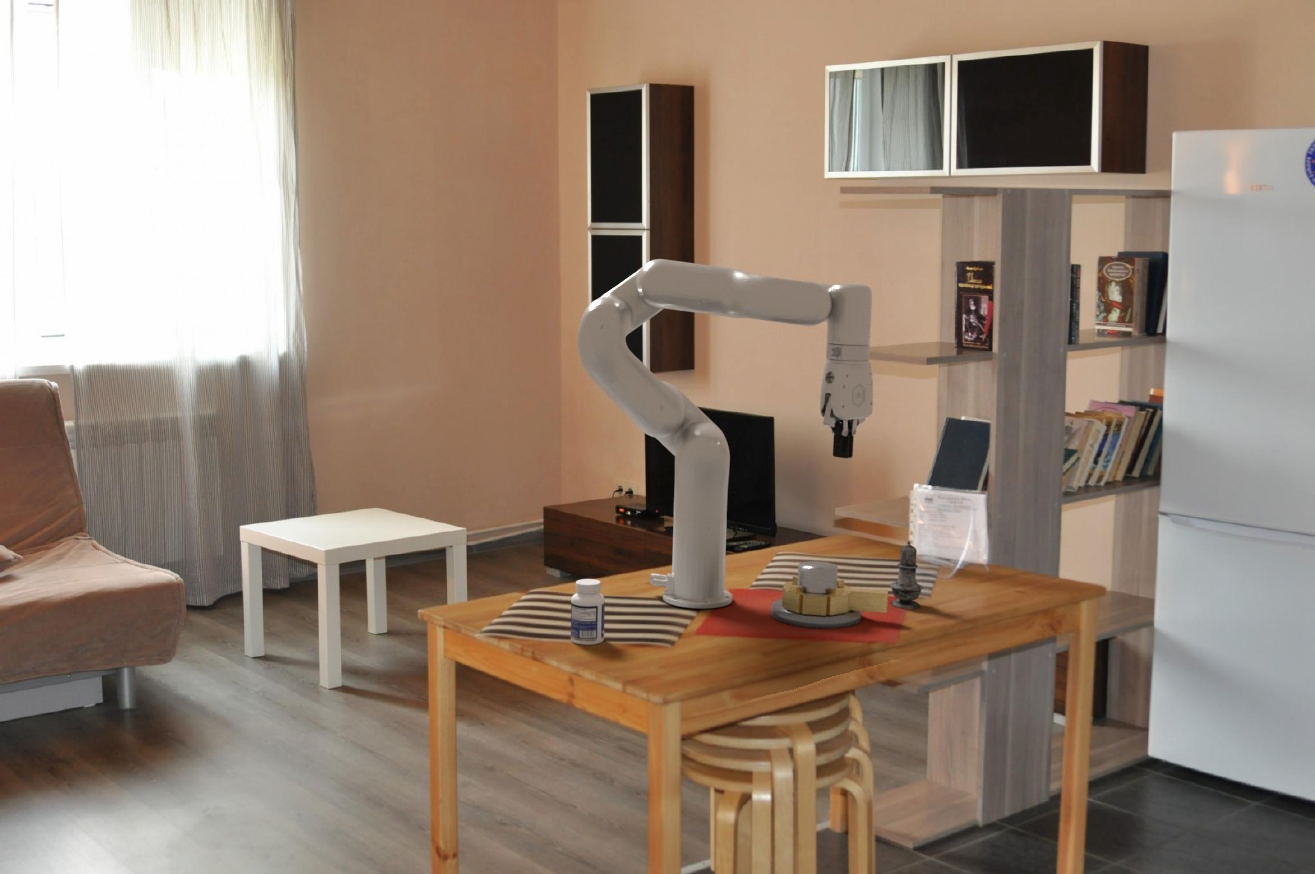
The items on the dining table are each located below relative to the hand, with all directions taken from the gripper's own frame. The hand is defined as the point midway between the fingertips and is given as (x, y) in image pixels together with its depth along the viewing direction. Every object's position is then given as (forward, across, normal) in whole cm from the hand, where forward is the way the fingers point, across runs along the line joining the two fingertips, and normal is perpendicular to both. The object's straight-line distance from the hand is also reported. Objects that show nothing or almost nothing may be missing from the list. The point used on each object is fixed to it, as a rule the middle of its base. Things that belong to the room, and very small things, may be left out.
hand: (842, 456), depth 237 cm
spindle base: (+27, -9, -2) cm, 29 cm away
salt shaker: (+27, +10, -8) cm, 30 cm away
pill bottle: (+27, -50, +12) cm, 58 cm away
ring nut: (+25, -7, -5) cm, 27 cm away
